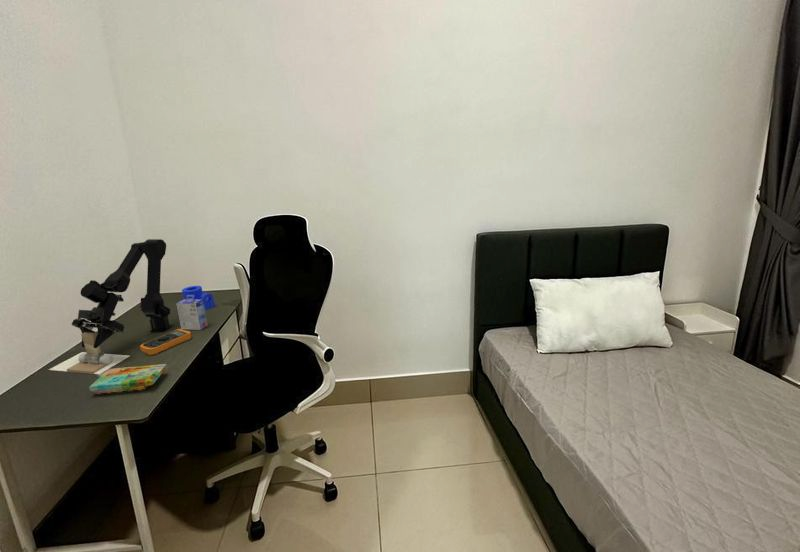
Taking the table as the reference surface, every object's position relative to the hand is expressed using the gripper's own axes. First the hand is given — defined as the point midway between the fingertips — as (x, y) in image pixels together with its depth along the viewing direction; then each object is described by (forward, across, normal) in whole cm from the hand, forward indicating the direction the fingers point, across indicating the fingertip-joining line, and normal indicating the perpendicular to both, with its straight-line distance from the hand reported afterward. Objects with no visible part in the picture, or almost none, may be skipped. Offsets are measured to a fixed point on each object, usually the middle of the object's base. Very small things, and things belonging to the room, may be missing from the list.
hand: (88, 347), depth 169 cm
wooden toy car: (+3, 0, +5) cm, 6 cm away
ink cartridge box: (-20, +15, +32) cm, 41 cm away
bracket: (-39, -2, +51) cm, 64 cm away
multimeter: (-8, +15, +20) cm, 26 cm away
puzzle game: (+12, +25, 0) cm, 28 cm away
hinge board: (+5, -3, +7) cm, 9 cm away
